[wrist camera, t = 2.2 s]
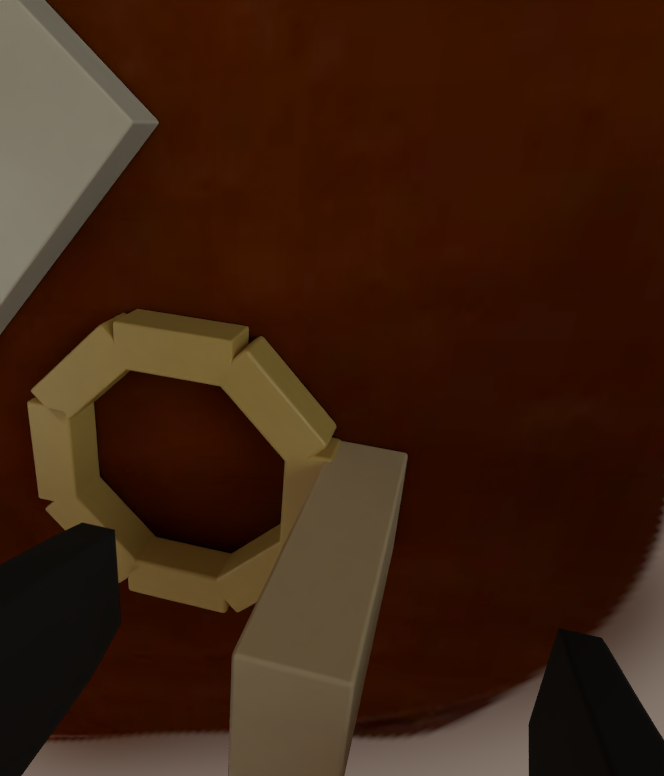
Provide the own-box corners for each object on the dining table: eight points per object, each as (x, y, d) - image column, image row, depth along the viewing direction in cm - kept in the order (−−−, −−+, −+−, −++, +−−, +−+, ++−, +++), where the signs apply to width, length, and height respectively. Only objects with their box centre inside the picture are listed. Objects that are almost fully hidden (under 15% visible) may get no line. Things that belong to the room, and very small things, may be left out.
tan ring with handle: (424, 353, 12) (376, 539, 7) (381, 619, 15) (323, 903, 9) (44, 292, 13) (-252, 406, 8) (71, 547, 16) (-136, 758, 11)
